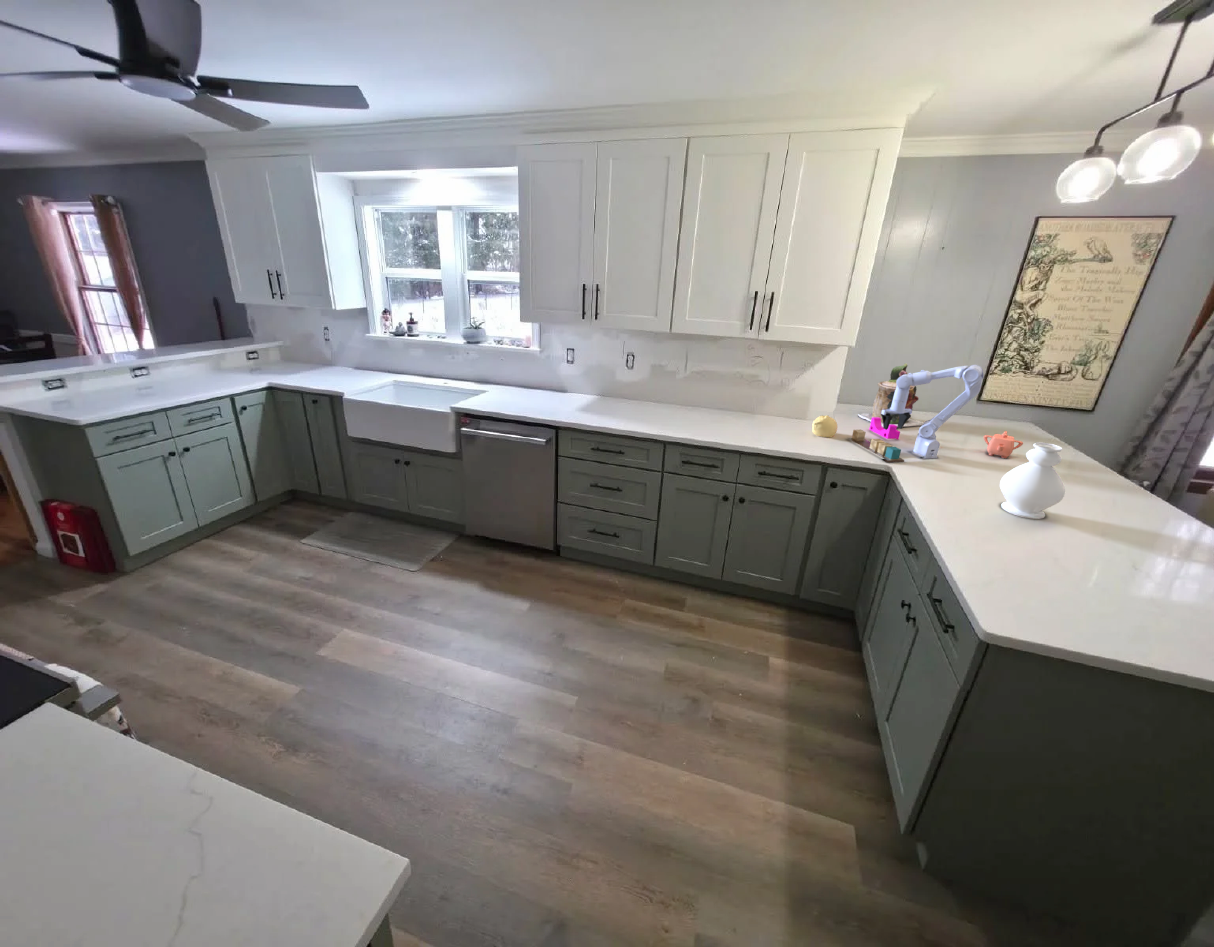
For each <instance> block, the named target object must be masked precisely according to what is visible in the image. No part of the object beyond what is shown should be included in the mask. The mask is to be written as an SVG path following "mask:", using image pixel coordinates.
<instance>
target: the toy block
mask: <svg viewBox="0 0 1214 947" xmlns="http://www.w3.org/2000/svg"><path fill="white" fill-rule="evenodd" d="M868 430H870V432H873V433H876V434H877V435H879V436H881V437H883V438H885V439H886V440H890V439H891V440H897V441H898V440H899V439H900V434H901V431H899V430H898V427H897V426H896V425H894V424H892V425H889V427H888V429H887V430H886V429H884V428H883V427H882V425H881V418H879V417H872V419H871V422H870V423H869V428H868Z"/></svg>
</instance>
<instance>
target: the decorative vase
mask: <svg viewBox="0 0 1214 947" xmlns="http://www.w3.org/2000/svg"><path fill="white" fill-rule="evenodd" d="M1032 446H1033V447H1034V448H1031V449H1029V450H1028V451H1027V452H1026V453H1025V457H1026V459H1027V460H1028V461H1027V462H1025V463H1023V464H1019V465H1017V466H1016V467H1014V468H1011V469H1010V470H1008V471H1007V472H1006V473H1005V474H1004V475H1003V476H1002V477H1001V478H1000V481H999V488H1000V491H1001V493H1002V496H1003V497H1004V499H1005V500H1006V501H1003V502H1001V505H1000V507H1001V508H1002V509H1003V510H1004V511H1006V512H1007V513H1009V514H1011V515H1014V516H1018V517H1020V518H1025V519H1030V520H1031V519H1032V520H1042V519H1044V518H1045V517H1046V513H1045V512H1044V510H1047V509H1049V508H1051V507H1053V506H1056V505H1057V504H1059V503H1060V502H1061V501H1062V500H1063V499H1064V497H1065V494H1066V486H1065V483H1064V481H1063V479H1062V477H1061V476H1060V474H1059V473H1058V472H1057V470H1056V469H1055V468H1054V466H1056V465H1059V464H1061V462H1062V459H1063V458H1062V456H1061V455H1060V452H1062V450H1063V447H1061V446H1060V445H1056V444H1053V443H1049V442H1044V441H1043V442H1042V441H1037V442H1033V445H1032Z"/></svg>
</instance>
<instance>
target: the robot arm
mask: <svg viewBox="0 0 1214 947" xmlns="http://www.w3.org/2000/svg"><path fill="white" fill-rule="evenodd" d="M984 373H985V372H984V369H983V367H982V366H981V365H979V364H971V365H960V366H955V367H950V368H946V369H942V370H937V371H933V372H932V371H929V370H925V369H921V370H920V371H918V372H909V373H907V374H905V375H902V376H901V377H899V378H898V379H897V381H896V384H897V386H896V390H895V393H894V397H893V401H892V405H891V408H890V409H886V410H882V413H881V416H882V419H883V428H884V429H886V430H887V429H888V427H889V424H890V421H891V419H892V418H893V417H892V416H891V415H890V414H899V422H898V427H897V429H900V430H902V429H903V428H904V427H903V426H904V424H905V423H906V421H907V420H908V419H909V418H910V419H911V417H912V414H913V409H912V410H911V409H905V406H906V402H907V398H908V395H909V389H910V386H916V387H917V386H922V385H927V384H930V383H931V382H932V381H933V380H939V379H945V378H952V377H953V378H956V379H960V380H961V379H962V380H963V382H964V388H965V390H964V391H962V392H961V393H960V394H959V395H958V396H956V397H955V398H954V399H953V400H952V401H951V402H950V403H949V404H947V405H946V406H945V407H944V408H943V409H942V410H941V411H939V412H938V413H937V414H936V415H935V416H933V417H932V418H931V419H927V420H926V421H923V422H924V423H923V424H922V425H920V427H919V429H918V433H917V435H916V439H915V443H914V446H913V450H912V452H913V453H914V454H917V455H919V458H920V459H926V460H927V459H938V454H939V450H940V445H941V443H940V441H938V440H937V435H936V432H937V431H938V430H939V428H941V426H942V425H944V423H946V422H947V421H948V420H950V419H951V418H952V417H953V416H954V415H955V414H956V413H958V412H959V411H960V410H961V409H963V408H964V406H966V405H967V404H968V403H969V402H970V401H972V400H973V399H974V398H976V396H978V395H979V393H980V392H981V388H982V385H983V382H984V381H983V380H984V376H985V374H984ZM911 413H912V414H911Z"/></svg>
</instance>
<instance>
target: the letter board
mask: <svg viewBox="0 0 1214 947" xmlns="http://www.w3.org/2000/svg"><path fill="white" fill-rule="evenodd" d="M847 439H848V440H850V441H852V442H853V443H855V444H857V445H859V446H861V447H862V448H864V449H866V450H868V451H869V452H872V453H873V454H875V455H877V456H879V457H880V458H881V460H882V461H884V462H885V463H887V464H892V463H904V462H905V459H904V458H901V456H899V459H889V458H887V457H885V454H886V450H887V447H894V445H893V444H891V443H889V442H886V441H884V440H883V439H881V438H871V440H870V441H869V440H868V439H866V431H865V430H863V429H859V428H858V429H853V431H852V435H851V437H847Z"/></svg>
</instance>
